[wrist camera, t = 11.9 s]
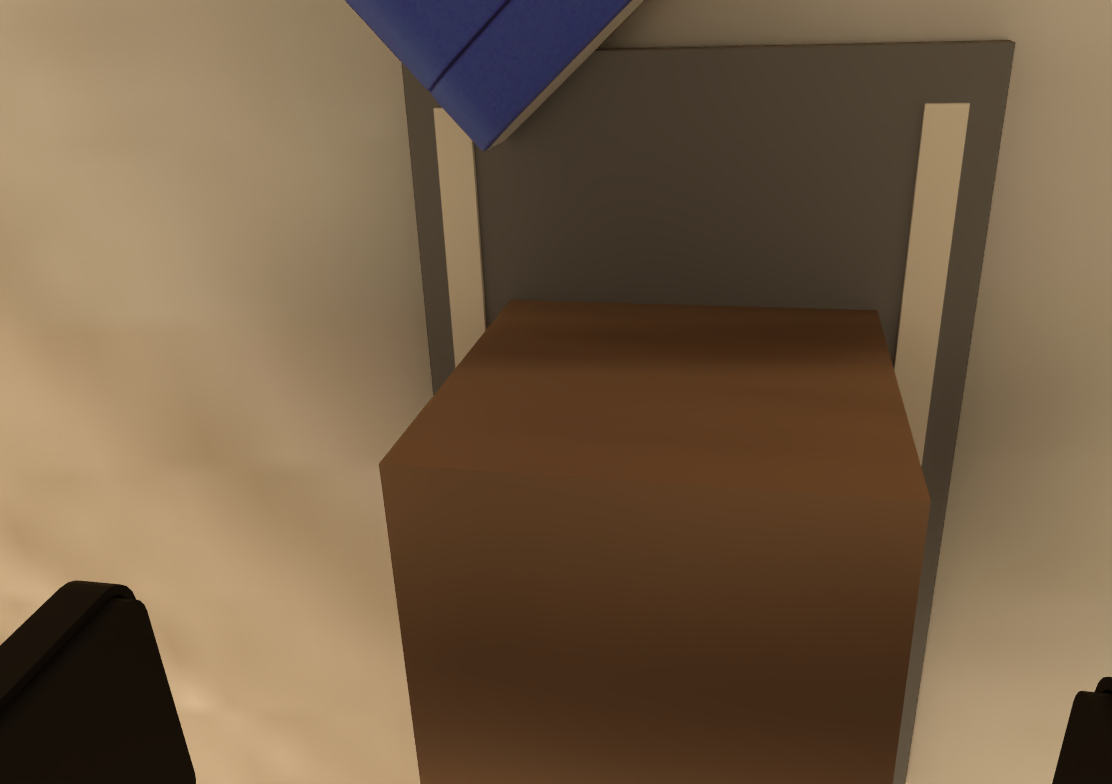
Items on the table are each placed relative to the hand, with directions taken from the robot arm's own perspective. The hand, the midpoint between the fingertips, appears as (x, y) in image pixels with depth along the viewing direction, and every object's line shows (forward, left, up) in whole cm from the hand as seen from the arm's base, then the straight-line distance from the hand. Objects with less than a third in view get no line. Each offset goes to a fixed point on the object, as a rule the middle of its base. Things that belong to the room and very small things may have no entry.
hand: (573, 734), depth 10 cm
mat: (+1, 0, -8) cm, 8 cm away
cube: (+1, 0, -8) cm, 8 cm away
